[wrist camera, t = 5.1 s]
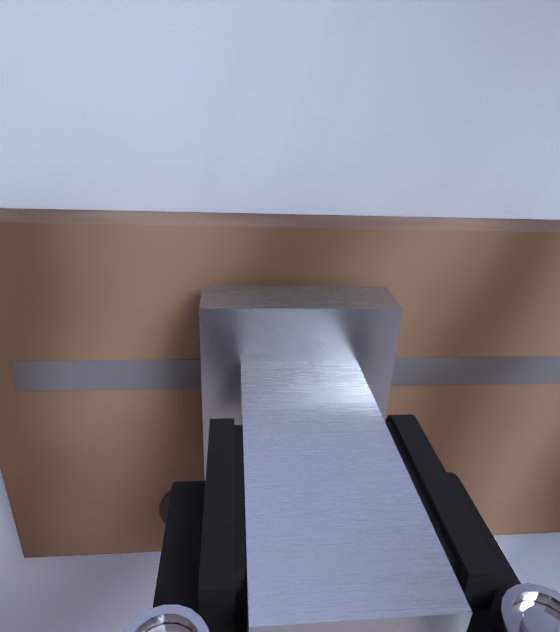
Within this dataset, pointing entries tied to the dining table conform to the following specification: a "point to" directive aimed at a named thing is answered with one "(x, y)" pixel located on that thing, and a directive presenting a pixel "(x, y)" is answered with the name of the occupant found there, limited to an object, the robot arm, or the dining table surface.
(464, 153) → the dining table surface
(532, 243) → the wooden board with posts
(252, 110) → the dining table surface
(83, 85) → the dining table surface
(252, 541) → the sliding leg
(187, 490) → the robot arm
